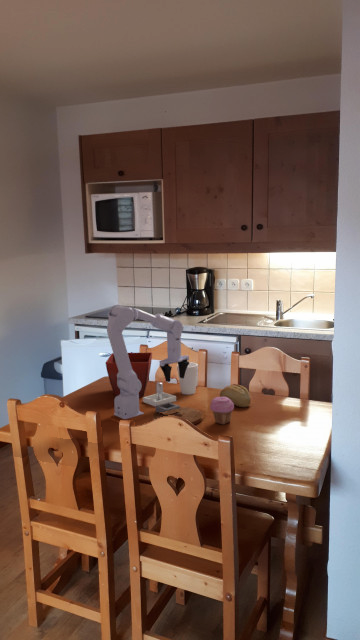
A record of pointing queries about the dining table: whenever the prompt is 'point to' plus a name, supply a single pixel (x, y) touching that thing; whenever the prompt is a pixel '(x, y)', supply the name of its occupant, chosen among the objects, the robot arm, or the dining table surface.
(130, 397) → the robot arm
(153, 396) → the tray
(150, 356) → the plant pot
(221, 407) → the cupcake
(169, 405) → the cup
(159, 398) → the pin
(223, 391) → the bread roll
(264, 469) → the dining table surface
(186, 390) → the foam cup
